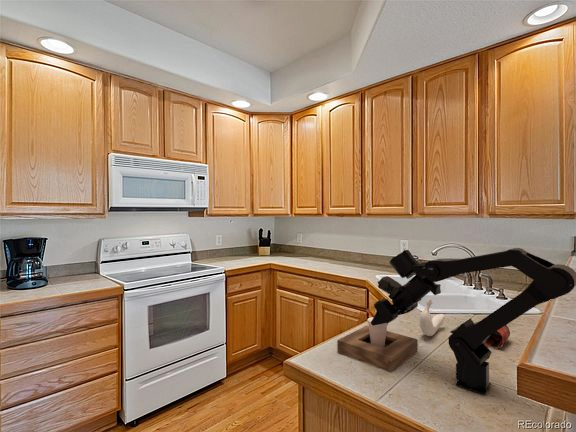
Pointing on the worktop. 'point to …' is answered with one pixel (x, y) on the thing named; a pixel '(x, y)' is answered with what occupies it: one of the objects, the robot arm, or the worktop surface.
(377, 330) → the smoothie
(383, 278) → the robot arm
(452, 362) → the worktop surface
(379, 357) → the walnut box
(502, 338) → the beverage can
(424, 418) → the worktop surface
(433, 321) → the white curved piece
